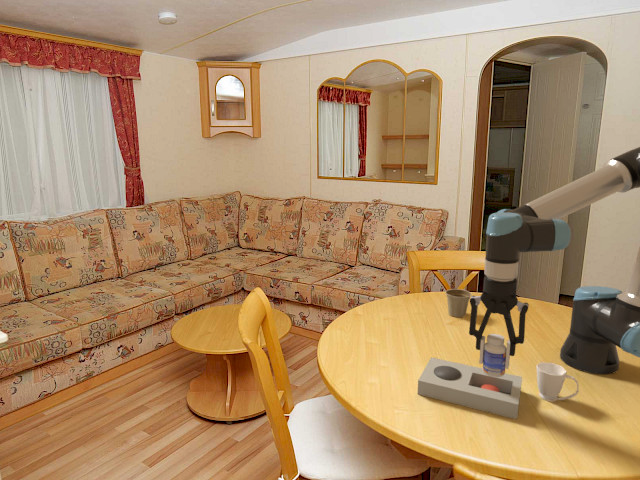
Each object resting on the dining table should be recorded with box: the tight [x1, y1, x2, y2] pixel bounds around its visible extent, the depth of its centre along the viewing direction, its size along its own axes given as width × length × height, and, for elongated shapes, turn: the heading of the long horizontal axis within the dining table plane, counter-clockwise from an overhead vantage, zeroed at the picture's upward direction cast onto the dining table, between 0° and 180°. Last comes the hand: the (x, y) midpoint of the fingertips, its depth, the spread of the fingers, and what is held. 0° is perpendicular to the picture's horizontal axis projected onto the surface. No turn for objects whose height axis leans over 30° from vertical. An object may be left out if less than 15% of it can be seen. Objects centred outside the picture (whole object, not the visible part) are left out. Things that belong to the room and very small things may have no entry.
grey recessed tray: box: [417, 356, 523, 420], centre depth 118 cm, size 24×14×4 cm, turn 63°
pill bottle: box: [482, 333, 507, 377], centre depth 114 cm, size 5×5×10 cm
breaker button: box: [481, 384, 499, 392], centre depth 116 cm, size 4×4×2 cm
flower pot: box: [444, 288, 473, 318], centre depth 169 cm, size 9×9×9 cm
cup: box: [535, 361, 579, 402], centre depth 115 cm, size 7×10×8 cm
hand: (494, 363), depth 114 cm, fingers closed on pill bottle, 5 cm apart
